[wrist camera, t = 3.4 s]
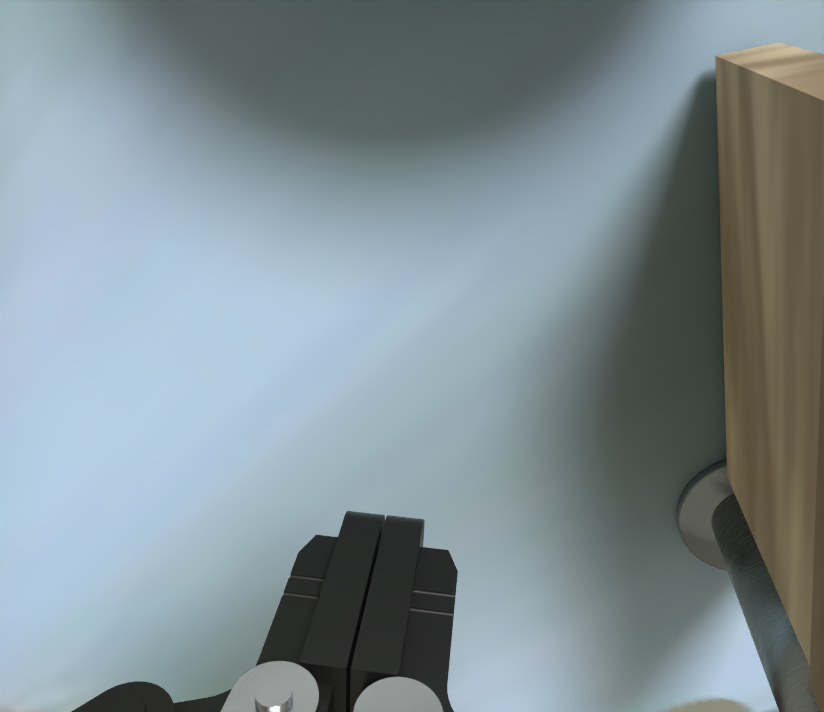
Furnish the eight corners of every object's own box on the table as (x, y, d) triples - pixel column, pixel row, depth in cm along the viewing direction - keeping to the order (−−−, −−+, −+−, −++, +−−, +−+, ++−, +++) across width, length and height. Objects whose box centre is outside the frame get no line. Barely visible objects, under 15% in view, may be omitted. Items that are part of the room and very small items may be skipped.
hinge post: (680, 567, 29) (769, 874, 19) (673, 462, 26) (770, 748, 17) (820, 556, 28) (989, 875, 18) (824, 446, 25) (1020, 741, 16)
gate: (721, 484, 26) (826, 736, 17) (707, 57, 20) (861, 124, 11) (782, 478, 26) (920, 734, 17) (787, 40, 19) (1009, 98, 11)
